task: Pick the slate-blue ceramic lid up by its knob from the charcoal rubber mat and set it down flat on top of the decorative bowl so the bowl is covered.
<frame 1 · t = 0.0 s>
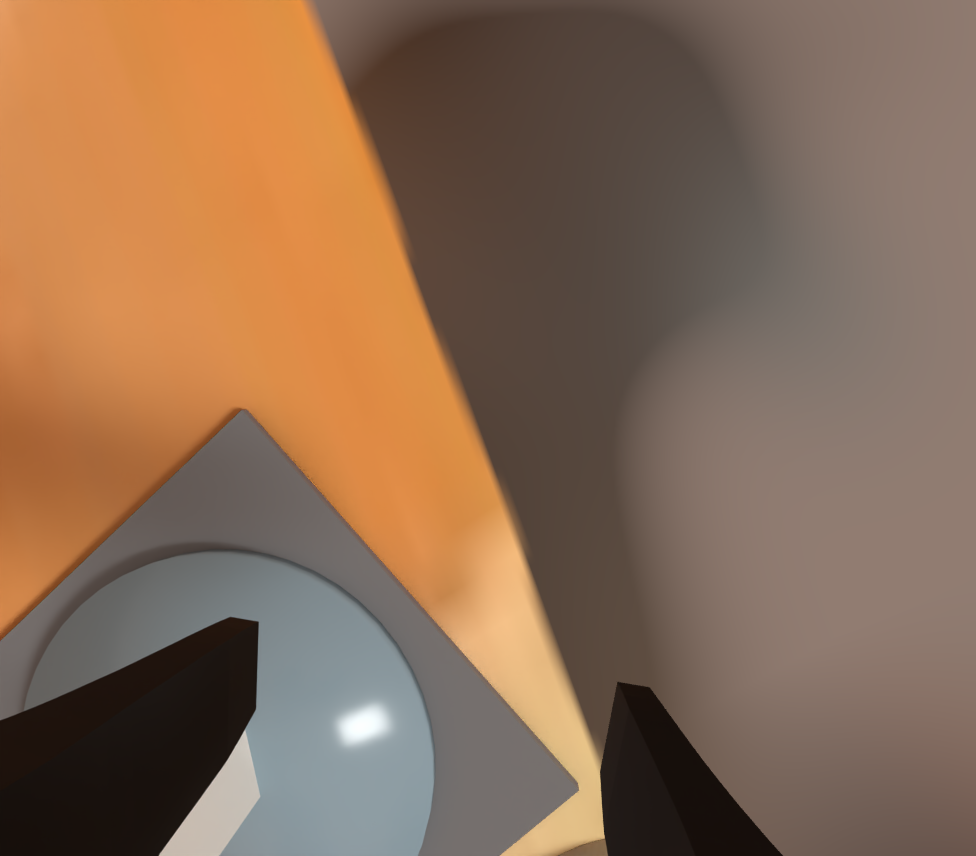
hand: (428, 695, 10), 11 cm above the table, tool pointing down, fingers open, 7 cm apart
lid: (184, 808, 18), on the mat
mat: (235, 748, 22), on the table
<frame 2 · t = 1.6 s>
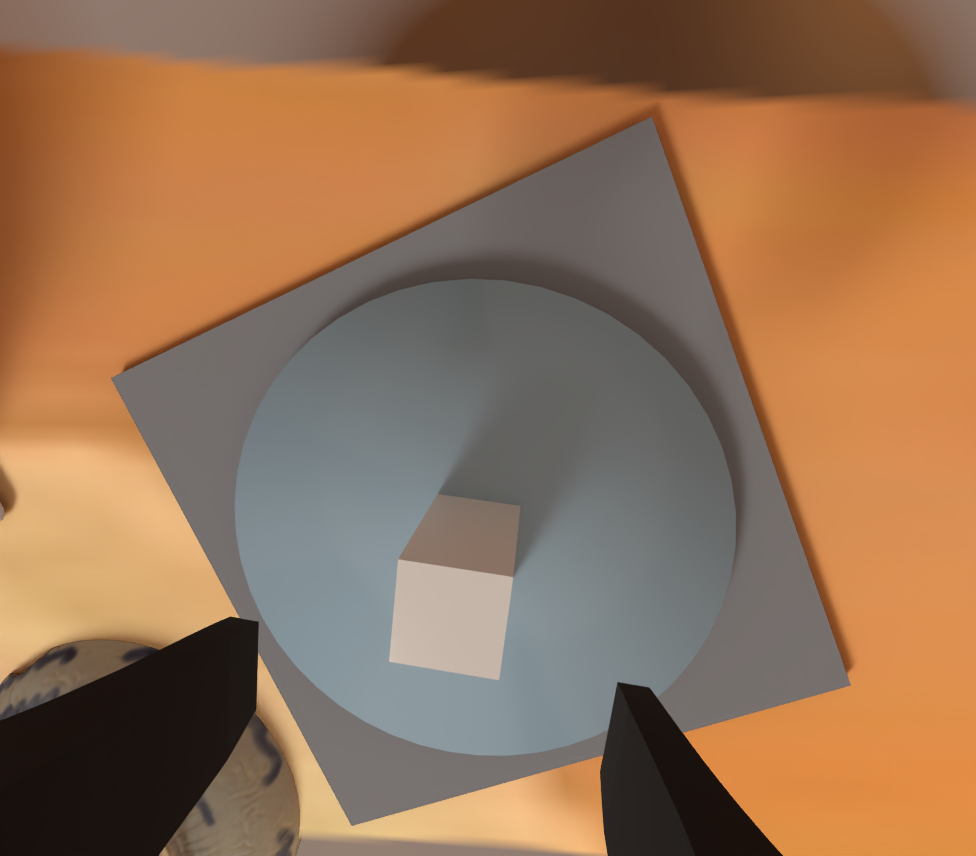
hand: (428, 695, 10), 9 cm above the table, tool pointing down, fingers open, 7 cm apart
lid: (465, 567, 16), on the mat
mat: (478, 525, 19), on the table
decorative bowl: (145, 782, 23), on the table
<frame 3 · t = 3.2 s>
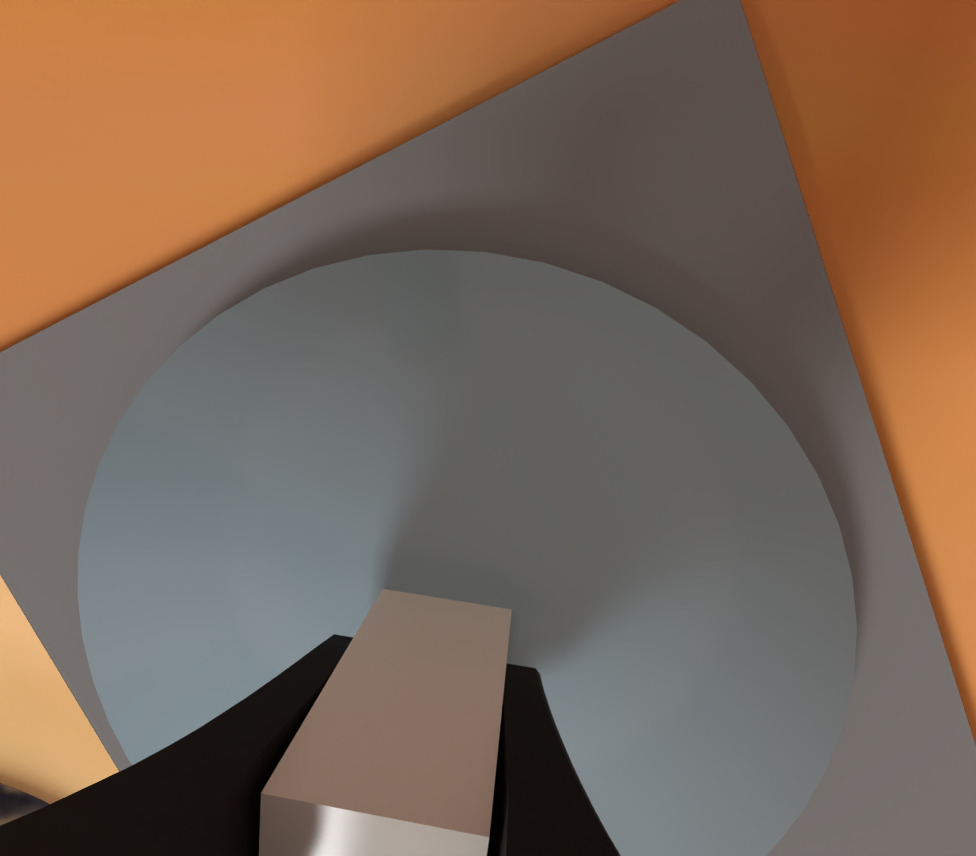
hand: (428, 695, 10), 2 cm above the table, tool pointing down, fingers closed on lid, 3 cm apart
lid: (418, 730, 9), on the mat, touching gripper
mat: (449, 626, 13), on the table
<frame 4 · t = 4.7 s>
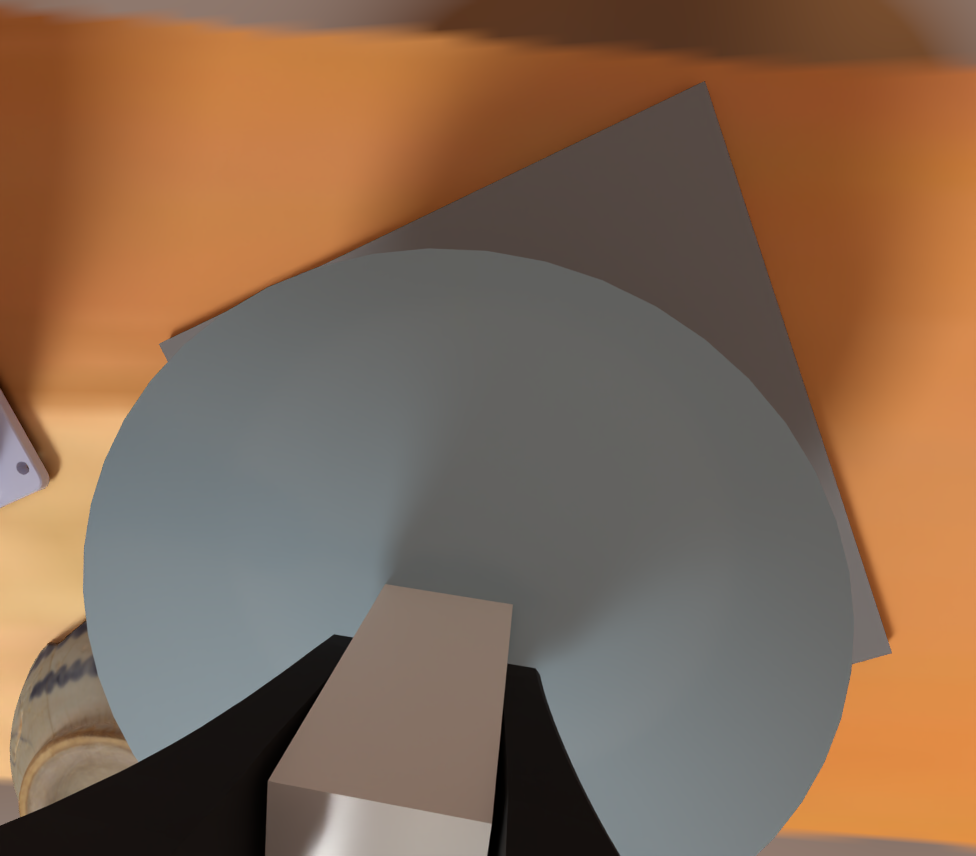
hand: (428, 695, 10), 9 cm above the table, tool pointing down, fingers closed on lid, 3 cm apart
lid: (420, 722, 9), point 10 cm above the table, touching gripper
mat: (520, 492, 19), on the table
decorative bowl: (182, 751, 24), on the table
when the fingers open (8 cm above the table, at t = 6.4 s): lid drops 2 cm, resting on decorative bowl.
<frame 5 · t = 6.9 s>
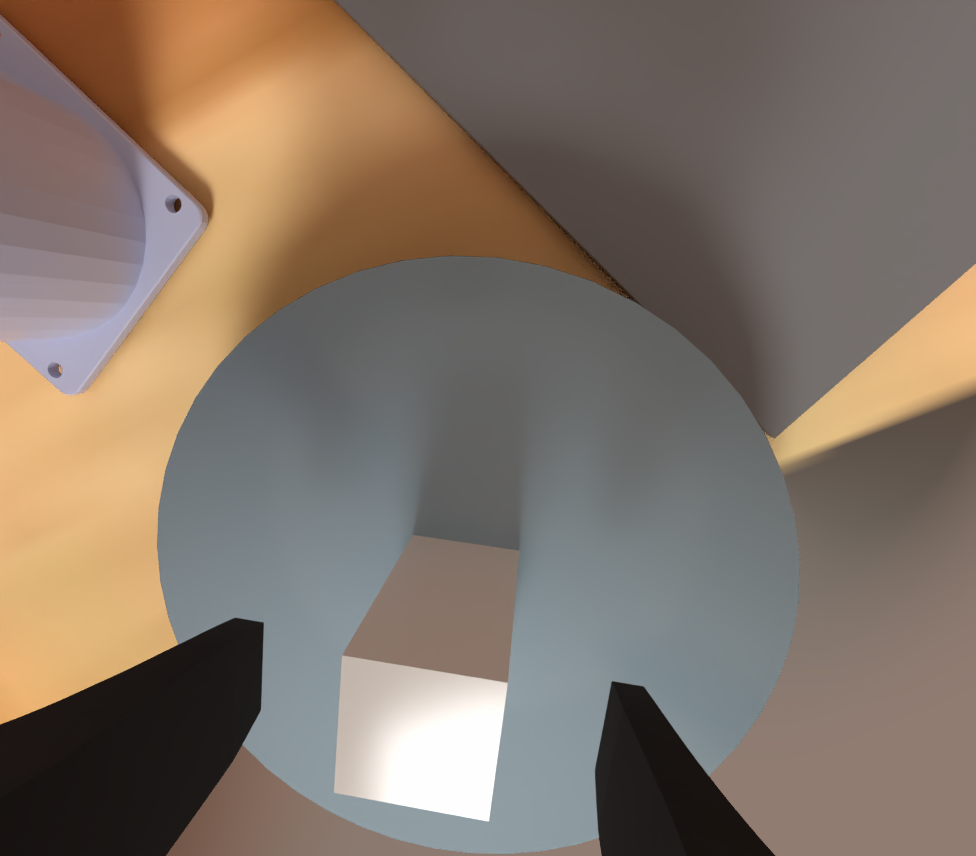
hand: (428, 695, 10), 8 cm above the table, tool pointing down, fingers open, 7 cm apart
lid: (446, 638, 12), point 6 cm above the table, touching decorative bowl
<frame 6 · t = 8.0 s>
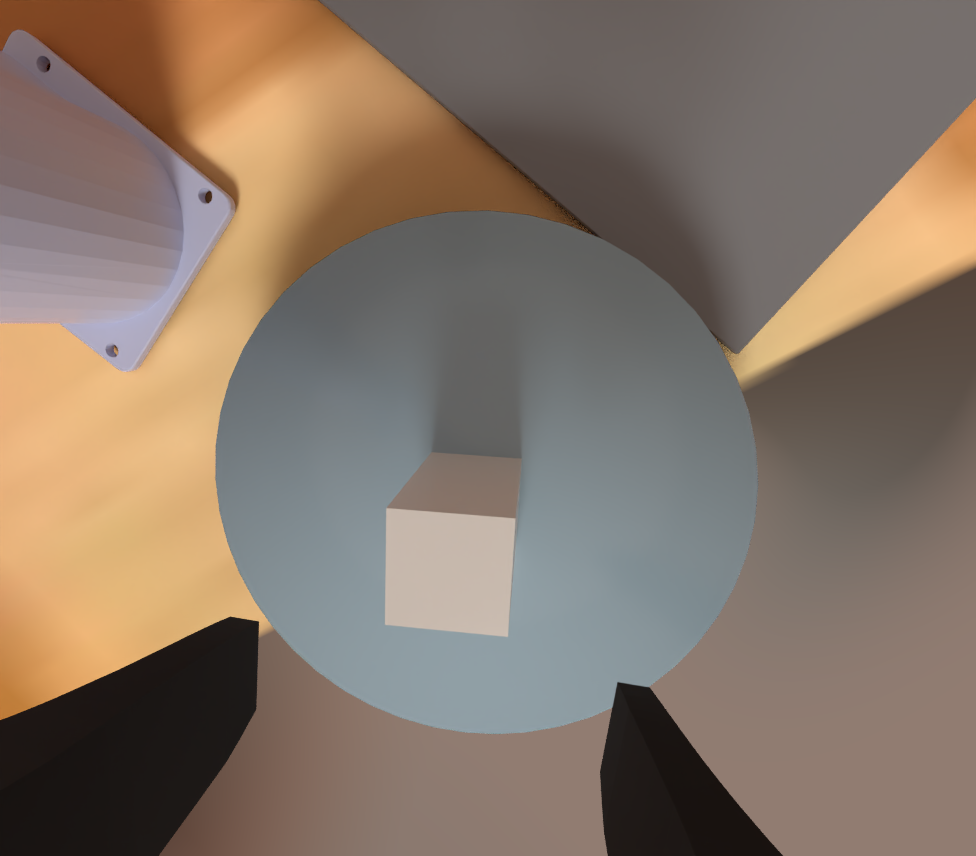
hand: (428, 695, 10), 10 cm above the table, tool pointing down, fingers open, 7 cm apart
lid: (465, 523, 14), point 6 cm above the table, touching decorative bowl
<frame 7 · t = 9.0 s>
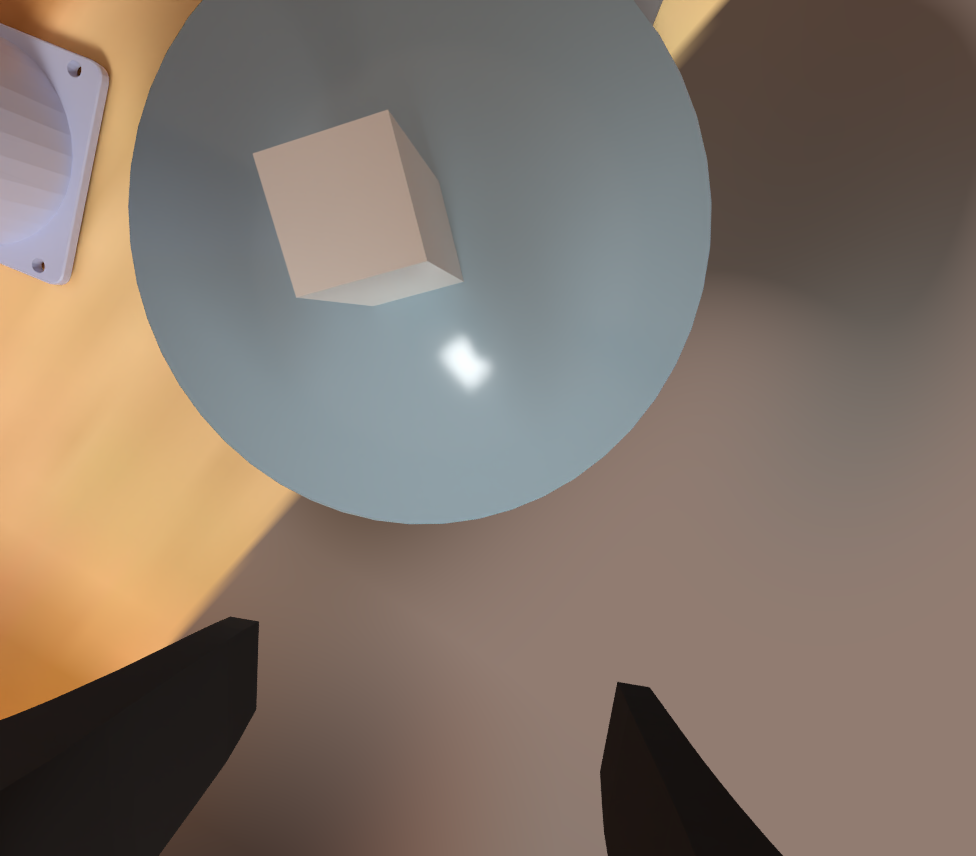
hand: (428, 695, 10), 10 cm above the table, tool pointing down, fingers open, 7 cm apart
lid: (383, 233, 13), point 6 cm above the table, touching decorative bowl
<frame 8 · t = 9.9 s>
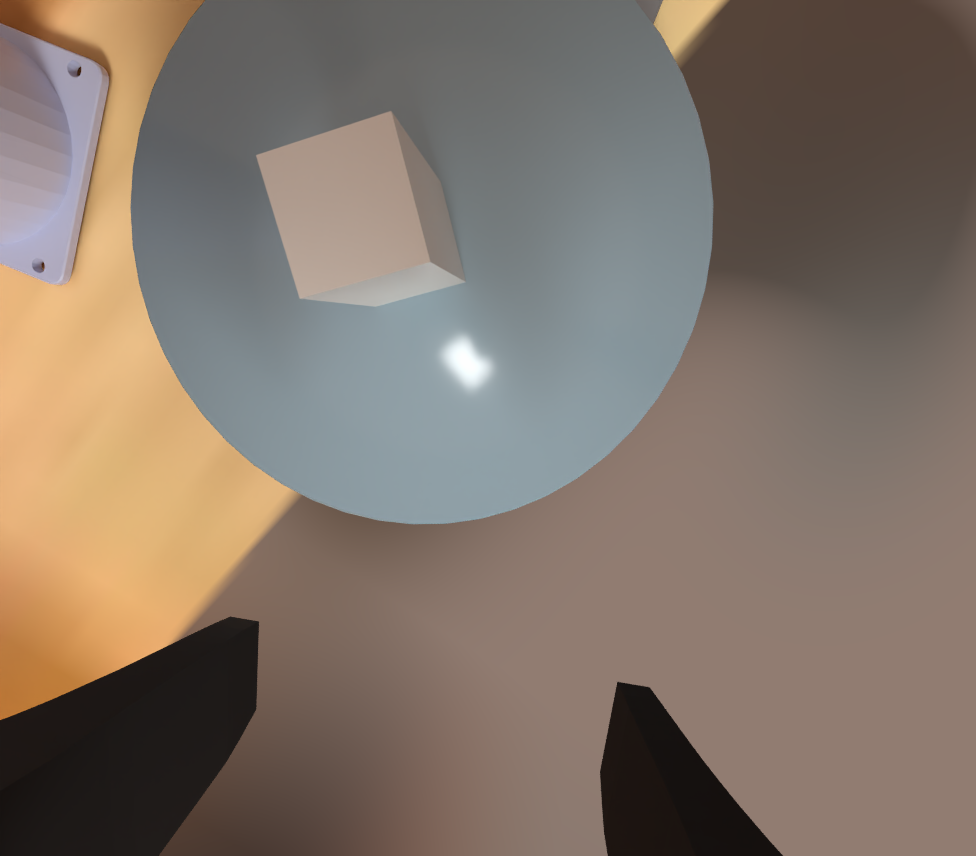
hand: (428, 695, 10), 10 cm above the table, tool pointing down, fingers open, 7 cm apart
lid: (386, 233, 13), point 6 cm above the table, touching decorative bowl
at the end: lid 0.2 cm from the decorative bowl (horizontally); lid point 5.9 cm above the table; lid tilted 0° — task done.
